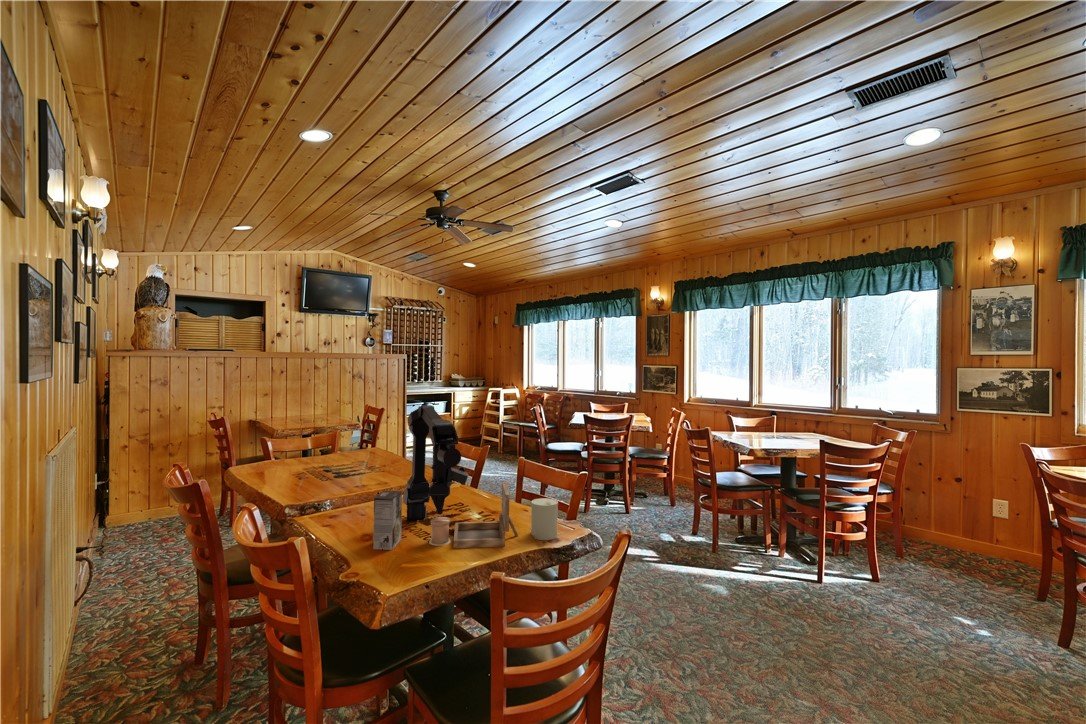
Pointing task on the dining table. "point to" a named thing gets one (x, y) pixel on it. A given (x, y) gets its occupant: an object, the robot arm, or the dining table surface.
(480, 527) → the open wooden box
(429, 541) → the saucer
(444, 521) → the terracotta pot
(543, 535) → the can
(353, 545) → the dining table surface
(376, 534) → the coffee box
